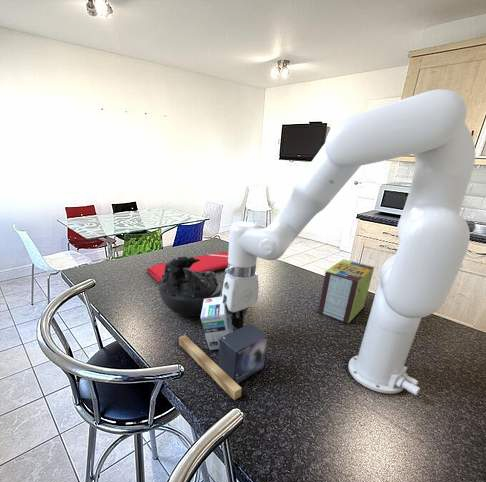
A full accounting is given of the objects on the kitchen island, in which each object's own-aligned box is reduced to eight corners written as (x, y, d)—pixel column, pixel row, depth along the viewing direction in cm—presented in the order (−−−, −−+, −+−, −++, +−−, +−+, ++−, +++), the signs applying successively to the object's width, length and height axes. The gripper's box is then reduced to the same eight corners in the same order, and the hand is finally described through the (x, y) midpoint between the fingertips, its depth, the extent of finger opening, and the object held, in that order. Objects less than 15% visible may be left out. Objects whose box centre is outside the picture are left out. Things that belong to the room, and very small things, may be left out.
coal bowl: (183, 292, 110) (182, 245, 103) (230, 307, 101) (233, 256, 94) (147, 317, 94) (143, 263, 87) (200, 336, 85) (200, 278, 78)
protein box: (364, 307, 103) (374, 266, 97) (348, 324, 93) (359, 280, 87) (334, 297, 110) (343, 258, 103) (316, 312, 99) (324, 270, 93)
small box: (234, 388, 67) (236, 351, 63) (216, 372, 72) (217, 337, 68) (265, 369, 73) (269, 334, 69) (246, 355, 78) (249, 322, 74)
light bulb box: (233, 348, 78) (225, 314, 74) (208, 351, 79) (199, 318, 75) (233, 325, 88) (226, 294, 84) (211, 328, 89) (203, 298, 85)
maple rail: (241, 396, 65) (241, 388, 64) (234, 400, 64) (234, 392, 63) (185, 342, 83) (185, 334, 82) (179, 344, 82) (178, 337, 81)
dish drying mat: (146, 271, 128) (146, 263, 127) (224, 256, 148) (224, 249, 146) (160, 285, 116) (159, 276, 114) (243, 266, 135) (243, 259, 134)
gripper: (228, 280, 71) (224, 341, 79) (271, 267, 79) (264, 324, 87) (210, 269, 77) (208, 328, 84) (252, 259, 85) (247, 313, 92)
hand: (237, 326), depth 85 cm, fingers closed
